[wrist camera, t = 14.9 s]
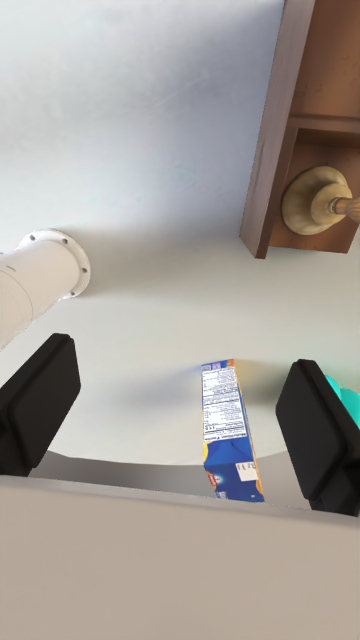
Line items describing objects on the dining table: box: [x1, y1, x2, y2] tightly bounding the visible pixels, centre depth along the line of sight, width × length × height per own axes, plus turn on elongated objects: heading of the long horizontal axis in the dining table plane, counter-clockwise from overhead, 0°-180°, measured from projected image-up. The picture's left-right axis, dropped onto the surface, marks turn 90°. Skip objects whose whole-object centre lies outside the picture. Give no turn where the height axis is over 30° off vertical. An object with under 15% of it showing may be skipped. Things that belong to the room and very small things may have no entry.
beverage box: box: [202, 359, 264, 503], centre depth 46 cm, size 7×11×22 cm, turn 17°
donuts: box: [325, 375, 360, 429], centre depth 50 cm, size 10×10×10 cm
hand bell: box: [281, 166, 360, 235], centre depth 26 cm, size 8×8×16 cm
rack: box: [239, 0, 360, 259], centre depth 28 cm, size 15×26×13 cm, turn 175°
